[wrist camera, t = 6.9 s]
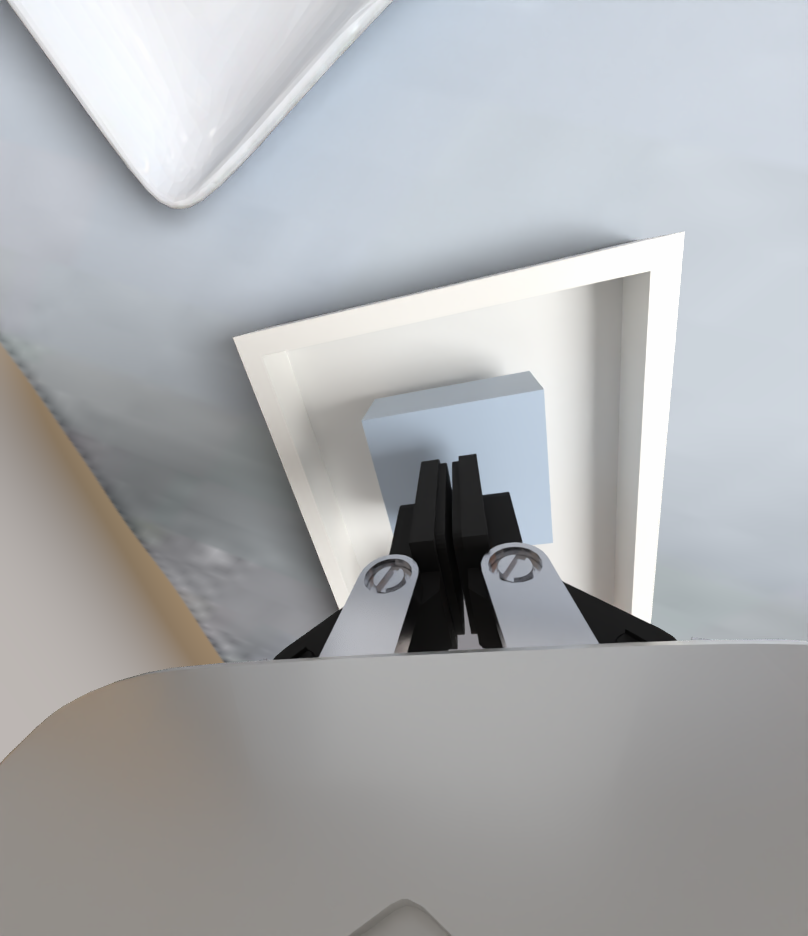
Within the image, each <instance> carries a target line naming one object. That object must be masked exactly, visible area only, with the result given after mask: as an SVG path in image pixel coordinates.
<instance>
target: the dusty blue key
mask: <svg viewBox="0 0 808 936" xmlns="http://www.w3.org/2000/svg"><path fill="white" fill-rule="evenodd" d="M362 425H363V428H364V432H365V436H366V439H367V443H368V446H369V450H370V454H371V457H372V461H373V464H374V468H375V472H376V475H377V479H378V482H379V486H380V490H381V493H382V497H383V500H384V504H385V508H386V511H387V515H388V518H389V522H390V526H391V529H392V533H393V534H394V530H395V525H396V521H397V516H398V511H399V508H400V506H401V505H407V504H415V499H416V492H417V486H418V479H419V473H420V466H421V462H422V461H429V460H436V459H439V460H440V463H447V466H448V471H449V476H450V482H451V487H452V462H454V461H459V460H458V456H463V455H470V454H476V455H477V461H478V468H479V475H480V482H481V489H482V495H486V494H494V493H502V492H509V493H510V496H511V500H512V504H513V508H514V511H515V515H516V519H517V523H518V526H519V530H520V534H521V538H522V542H523V543H526V544H529V545H538V544H548V543H553V535H552V518H551V501H550V484H549V467H548V450H547V432H546V415H545V398H544V389H543V387H542V386H541V385H540V384H539V382H538V381H537V380H536V379H535V377H534V376H533V375H532V373H531V372H530V371H525V372H520V373H515V374H509V375H504V376H498V377H493V378H487V379H482V380H476V381H471V382H465V383H460V384H454V385H449V386H443V387H438V388H432V389H427V390H421V391H416V392H411V393H405V394H400V395H394V396H389V397H383V398H378V399H375V400H374V402H373V403H372V405H371V406H370V408H369V409H368V411H367V413H366V414H365V416H364V417H363V419H362Z"/></svg>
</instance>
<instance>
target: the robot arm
mask: <svg viewBox="0 0 808 936" xmlns="http://www.w3.org/2000/svg"><path fill="white" fill-rule="evenodd" d="M458 460H459V461H454V462H452V487H451V482H450V476H449V471H448V466H447V463H440V460H439V459H436V460H429V461H422V462H421V466H420V473H419V479H418V486H417V492H416V499H415V504H407V505H401V506H400V508H399V511H398V516H397V521H396V525H395V530H394V534H393V539H392V544H391V548H390V553H389V555H387V556H383V557H380V558H378V559H376V560H374V561H372V562H371V563H369V564H368V565H367V566H366V567H365V568H364V569H363V570H362V572H361V573H360V575H359V577H358V579H357V581H356V583H355V585H354V587H353V589H352V591H351V593H350V595H349V597H348V599H347V601H346V603H345V605H344V607H342V608H341V609H340V610H338V611H337V612H335V613H334V614H333V615H331V616H330V617H328V618H327V619H326V620H324V621H323V622H321V623H320V624H319V625H317V626H316V627H314V628H313V629H312V630H310V631H309V632H307V633H306V634H305V635H303V636H302V637H300V638H299V639H298V640H296V641H295V642H293V643H292V644H291V645H289V646H288V647H286V648H285V649H284V650H283V651H282V652H280V653H279V654H278V655H277V656H276V657H275V658H274V660H267V659H263V660H259V661H247V662H231V663H218V664H209V665H199V666H187V667H177V668H170V669H164V670H158V671H153V672H148V673H144V674H140V675H137V676H133V677H130V678H126V679H123V680H119V681H117V682H114V683H112V684H109V685H107V686H104V687H102V688H99V689H97V690H94V691H92V692H89V693H87V694H85V695H83V696H81V697H79V698H77V699H75V700H74V701H72V702H70V703H68V704H66V705H65V706H63V707H61V708H60V709H58V710H57V711H56V712H54V713H53V714H52V715H50V716H49V717H48V718H47V719H45V720H44V721H43V722H42V723H41V724H40V725H39V726H37V727H36V728H35V729H34V730H33V731H32V732H31V733H30V734H29V735H28V736H27V737H26V738H25V739H24V740H23V741H22V742H21V743H20V744H19V745H18V746H17V747H16V748H15V749H14V750H13V751H12V752H10V753H9V755H7V757H6V758H5V759H4V760H3V761H2V762H1V763H0V936H808V641H803V640H785V639H737V640H710V639H702V638H694V637H692V638H691V640H683V641H677V640H676V639H675V638H674V637H673V636H671V635H670V634H668V633H666V632H665V631H663V630H662V629H660V628H658V627H656V626H654V625H652V624H650V623H648V622H646V621H644V620H642V619H640V618H637V617H635V616H633V615H631V614H629V613H627V612H625V611H623V610H621V609H619V608H617V607H615V606H613V605H611V604H609V603H606V602H604V601H602V600H600V599H598V598H596V597H594V596H592V595H590V594H588V593H586V592H584V591H582V590H580V589H578V588H576V587H573V586H571V585H569V584H567V583H565V582H563V581H562V580H561V578H560V576H559V575H558V573H557V571H556V570H555V568H554V566H553V565H552V563H551V561H550V560H549V558H548V556H547V555H546V554H545V553H544V552H543V551H542V550H540V549H539V548H537V547H535V546H533V545H529V544H526V543H523V542H522V538H521V534H520V530H519V526H518V523H517V519H516V515H515V511H514V508H513V504H512V500H511V496H510V493H509V492H502V493H494V494H486V495H482V489H481V482H480V475H479V468H478V461H477V455H476V454H470V455H463V456H458ZM464 600H465V605H466V610H467V615H468V620H469V625H470V630H471V634H477V636H478V641H479V645H480V646H481V647H482V648H484V649H472V650H451V651H448V650H450V649H458V635H465V618H464Z"/></svg>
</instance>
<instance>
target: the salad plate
mask: <svg viewBox="0 0 808 936" xmlns="http://www.w3.org/2000/svg"><path fill="white" fill-rule="evenodd" d="M6 1H7V2H8V3H9V5H10V6H11V8H12V9H13V10H14V12H15V13H16V15H17V16H18V17H19V19H20V20H21V21H22V23H23V24H24V26H25V27H26V28H27V30H28V31H29V32H30V34H31V35H32V37H33V38H34V39H35V41H36V42H37V43H38V45H39V46H40V48H41V49H42V50H43V52H44V53H45V55H46V56H47V57H48V59H49V60H50V61H51V63H52V64H53V66H54V67H55V68H56V70H57V71H58V73H59V74H60V75H61V77H62V78H63V80H64V81H65V82H66V84H67V85H68V87H69V88H70V89H71V91H72V92H73V94H74V95H75V96H76V98H77V99H78V100H79V102H80V103H81V105H82V106H83V107H84V109H85V110H86V112H87V113H88V114H89V116H90V117H91V119H92V120H93V121H94V123H95V124H96V126H97V127H98V128H99V130H100V131H101V132H102V134H103V135H104V137H105V138H106V139H107V141H108V142H109V143H110V145H111V146H112V147H113V149H114V150H115V151H116V152H117V154H118V155H119V156H120V158H121V159H122V160H123V162H124V163H125V164H126V166H127V167H128V168H129V170H130V171H131V172H132V173H133V175H134V176H135V177H136V178H137V179H138V181H139V182H140V183H141V184H142V185H143V186H144V188H145V189H146V190H147V191H148V192H149V193H150V194H151V195H152V196H153V197H154V198H156V199H157V200H158V201H159V202H160V203H162V204H164V205H166V206H168V207H170V208H175V209H183V208H189V207H192V206H194V205H196V204H197V203H199V202H201V201H203V200H204V199H205V198H207V197H208V196H209V195H210V194H211V193H212V192H214V191H215V190H216V189H217V188H218V187H219V186H221V185H222V184H223V183H224V182H225V181H226V180H227V179H228V178H229V177H230V176H231V175H232V174H233V173H234V172H235V171H236V170H237V169H238V168H239V167H240V166H241V165H242V164H243V163H244V162H245V161H246V160H247V159H248V157H249V156H250V155H251V154H252V153H253V152H254V151H255V150H256V149H257V148H258V147H259V146H260V145H261V144H262V142H263V141H264V140H265V139H266V138H267V137H268V136H269V134H270V133H271V132H272V131H273V130H274V129H275V128H276V126H277V125H278V124H279V123H280V122H281V121H282V120H283V119H284V118H285V116H286V115H287V114H288V113H289V112H290V111H291V110H292V109H293V108H294V106H295V105H296V104H297V103H298V102H299V101H300V100H301V99H302V98H303V96H304V95H305V94H306V93H307V92H308V91H309V90H310V89H311V88H312V87H313V85H314V84H315V83H316V82H317V81H318V80H319V79H320V78H321V77H322V76H323V75H324V73H325V72H326V71H327V70H328V69H329V68H330V67H331V66H332V65H333V64H334V63H335V61H336V60H337V59H338V58H339V57H340V56H341V55H342V54H343V53H344V52H345V51H346V50H347V49H348V48H349V46H350V45H351V44H352V43H353V42H354V41H355V40H356V39H357V38H358V37H359V36H360V35H361V34H362V33H363V32H364V31H365V29H366V28H367V27H368V26H369V25H370V24H371V23H372V22H373V21H374V20H375V19H376V18H377V17H378V16H379V15H380V14H381V13H382V12H383V11H384V10H385V9H386V7H387V6H388V5H389V4H390V3H391V2H392V1H393V0H6Z"/></svg>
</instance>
